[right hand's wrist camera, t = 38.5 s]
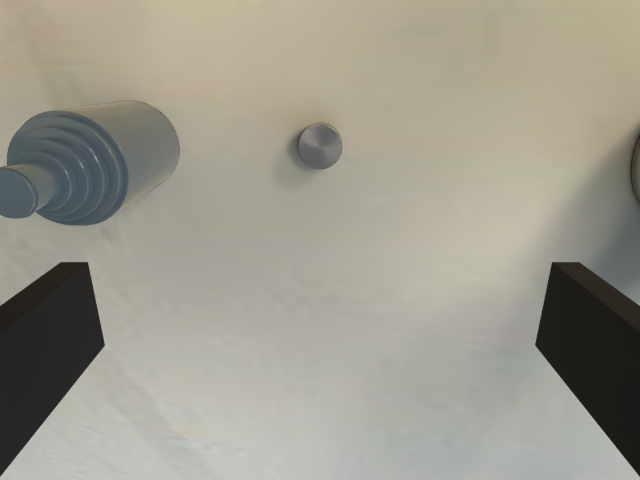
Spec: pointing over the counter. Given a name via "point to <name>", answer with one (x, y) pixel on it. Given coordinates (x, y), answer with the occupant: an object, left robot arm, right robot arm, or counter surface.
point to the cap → (320, 145)
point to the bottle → (86, 162)
